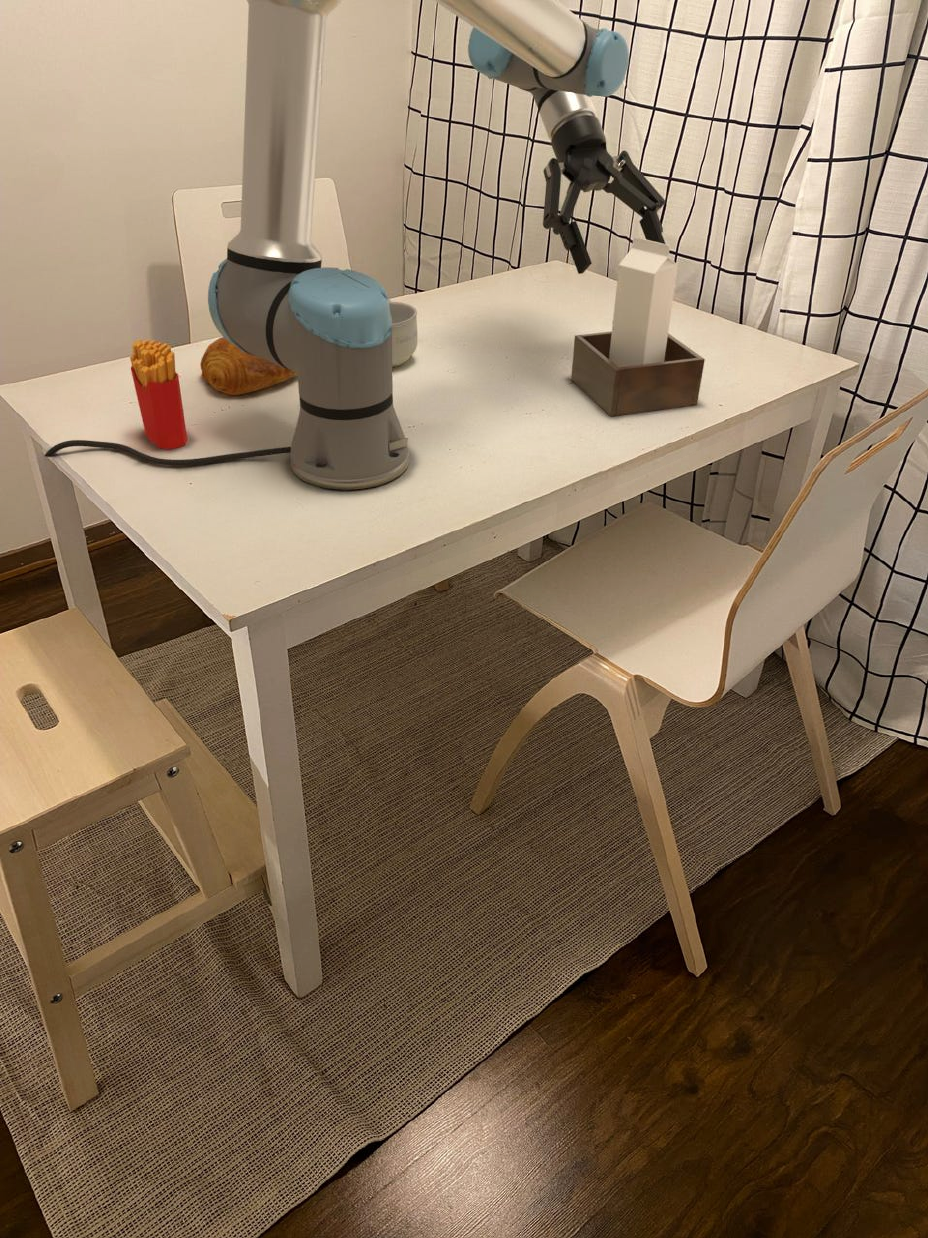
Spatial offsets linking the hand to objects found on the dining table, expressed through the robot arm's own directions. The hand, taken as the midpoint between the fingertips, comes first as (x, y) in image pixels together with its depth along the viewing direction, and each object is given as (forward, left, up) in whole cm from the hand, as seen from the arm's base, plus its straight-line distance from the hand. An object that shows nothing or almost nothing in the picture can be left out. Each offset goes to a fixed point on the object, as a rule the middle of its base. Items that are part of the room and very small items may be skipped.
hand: (624, 262), depth 139 cm
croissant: (-53, +16, -18) cm, 58 cm away
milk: (+1, -6, -18) cm, 19 cm away
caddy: (+1, -6, -18) cm, 18 cm away
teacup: (-31, +18, -18) cm, 40 cm away
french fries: (-67, -2, -18) cm, 69 cm away
